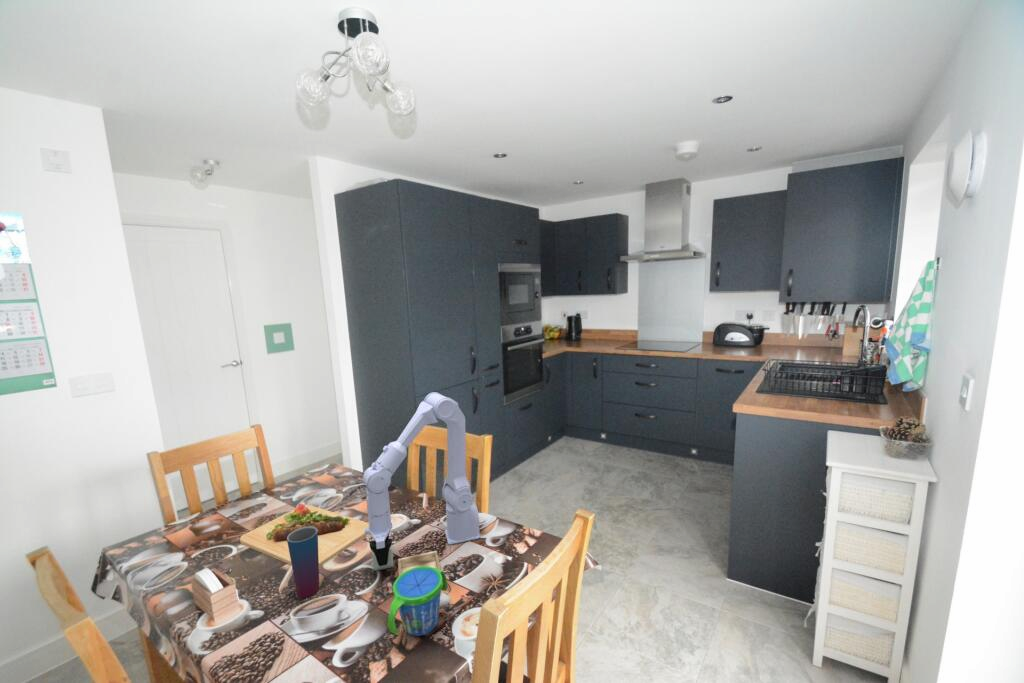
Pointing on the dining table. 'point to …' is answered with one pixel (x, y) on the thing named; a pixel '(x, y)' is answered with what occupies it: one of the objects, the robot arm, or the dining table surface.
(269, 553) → the cutting board
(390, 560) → the small crate
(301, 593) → the cup
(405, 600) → the snack cup
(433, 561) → the beige wooden tray
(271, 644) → the dining table surface
